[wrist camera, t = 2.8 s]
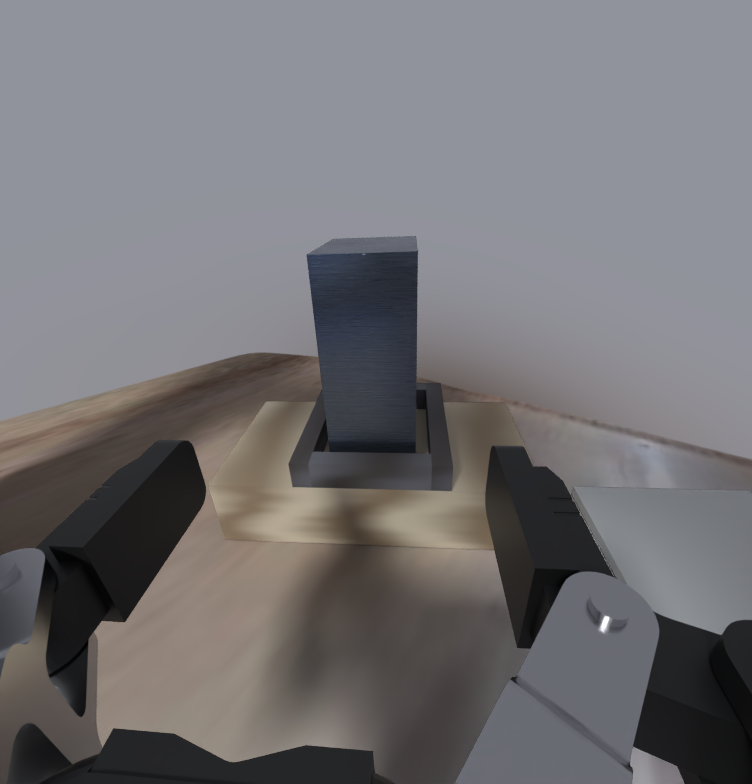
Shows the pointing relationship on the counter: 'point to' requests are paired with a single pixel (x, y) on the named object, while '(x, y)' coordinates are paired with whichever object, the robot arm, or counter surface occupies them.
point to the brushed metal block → (367, 341)
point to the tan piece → (364, 478)
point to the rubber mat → (677, 548)
